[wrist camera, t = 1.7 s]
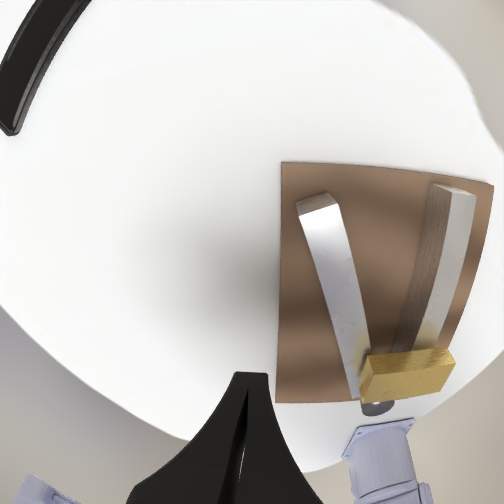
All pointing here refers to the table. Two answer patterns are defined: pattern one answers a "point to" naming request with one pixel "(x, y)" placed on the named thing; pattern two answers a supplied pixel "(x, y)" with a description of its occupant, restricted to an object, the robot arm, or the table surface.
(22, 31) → the phone
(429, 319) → the fixed tong arm
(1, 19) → the table surface
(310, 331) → the walnut board
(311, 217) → the bar
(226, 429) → the robot arm
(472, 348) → the table surface
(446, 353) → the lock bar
